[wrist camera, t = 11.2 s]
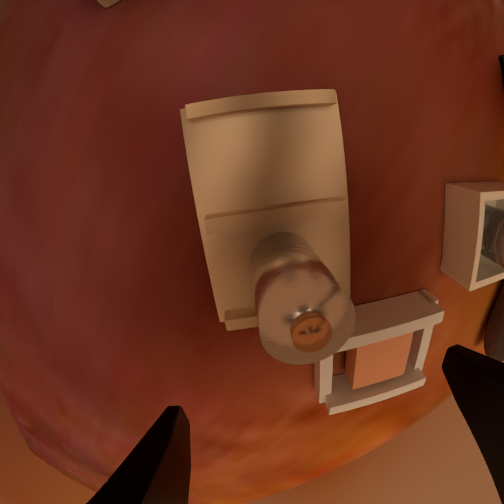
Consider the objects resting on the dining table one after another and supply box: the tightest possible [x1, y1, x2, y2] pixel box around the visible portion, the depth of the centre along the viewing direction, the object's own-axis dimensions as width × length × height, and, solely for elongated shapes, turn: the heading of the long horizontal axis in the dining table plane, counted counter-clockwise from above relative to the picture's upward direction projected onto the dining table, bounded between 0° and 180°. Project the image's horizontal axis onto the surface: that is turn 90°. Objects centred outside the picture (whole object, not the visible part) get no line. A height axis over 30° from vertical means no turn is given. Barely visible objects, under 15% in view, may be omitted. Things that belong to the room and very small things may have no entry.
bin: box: [440, 181, 504, 291], centre depth 17 cm, size 7×7×4 cm
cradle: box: [314, 289, 444, 415], centre depth 20 cm, size 10×8×4 cm
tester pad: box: [345, 332, 413, 390], centre depth 20 cm, size 5×5×2 cm
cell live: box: [250, 232, 356, 365], centre depth 14 cm, size 4×4×8 cm
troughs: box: [180, 89, 350, 331], centre depth 16 cm, size 9×14×2 cm, turn 8°
